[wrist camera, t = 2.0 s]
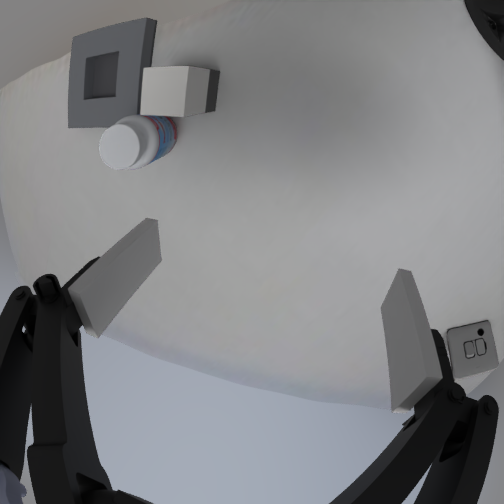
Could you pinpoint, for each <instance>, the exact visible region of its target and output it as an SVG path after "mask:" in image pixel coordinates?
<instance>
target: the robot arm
mask: <svg viewBox="0 0 504 504" xmlns="http://www.w3.org/2000/svg"><path fill="white" fill-rule="evenodd" d="M465 3H466V6H467V8H468V11H469V13H470V15H471V17H472V19H473V21H474V23H475V25H476V27H477V28H478V30H479V31H480V33H481V34H482V36H483V37H484V39H485V40H486V41H487V43H488V44H489V45H490V46H491V48H492V49H493V50H494V51H495V52H496V53H497V54H498V55H499V56H500V57H501V58H502V59H503V60H504V0H465ZM161 261H162V259H161V250H160V240H159V230H158V220H155V219H150V218H146V219H145V220H143V221H142V222H141V223H140V224H138V225H137V226H136V227H135V228H134V229H132V230H131V231H130V232H129V233H128V234H127V235H125V236H124V237H123V238H122V239H121V240H120V241H118V242H117V243H116V244H115V245H114V246H113V247H112V248H110V249H109V250H108V251H107V252H106V253H105V254H104V255H103V256H102V257H97V258H95V259H93V260H91V261H89V262H88V263H87V264H86V265H85V266H84V267H83V268H82V269H81V270H80V271H79V272H78V273H76V274H75V275H74V276H73V277H72V278H71V279H70V280H69V281H68V282H67V283H66V284H65V285H64V286H63V287H62V288H61V287H60V284H59V281H58V279H57V277H56V276H55V275H53V274H46V275H43V276H41V277H39V278H38V279H37V280H36V281H35V282H34V284H33V288H34V290H35V292H36V294H37V295H33V294H32V292H31V289H30V288H29V287H28V286H20V287H18V288H16V289H15V290H14V291H13V292H12V294H11V295H10V297H9V299H8V301H7V303H6V305H5V307H4V309H3V311H2V313H1V315H0V504H23V502H22V498H21V497H25V496H26V493H27V492H26V488H25V486H24V485H22V484H21V483H20V479H21V475H22V470H23V465H24V455H25V444H26V434H27V426H28V420H29V413H30V407H31V406H32V423H33V424H32V425H33V436H34V443H33V445H31V446H29V447H28V449H27V458H28V465H29V472H30V477H31V482H32V487H33V491H34V496H35V500H36V503H37V504H153V503H151V502H149V501H146V500H144V499H142V498H140V497H137V496H134V495H131V494H128V493H126V492H123V491H120V490H118V491H114V490H112V487H111V484H110V481H109V478H108V476H107V474H106V472H105V470H104V469H103V467H102V466H101V464H100V461H99V458H98V454H97V450H96V446H95V441H94V437H93V432H92V427H91V423H90V417H89V411H88V405H87V398H86V391H85V383H84V374H83V362H82V348H81V333H80V330H79V328H80V327H81V326H82V325H83V326H84V329H85V330H86V333H88V334H90V335H92V336H94V337H96V338H99V337H100V335H101V334H102V333H103V332H104V330H105V329H106V328H107V327H108V325H109V324H110V323H111V321H112V320H113V319H114V318H115V316H116V315H117V314H118V313H119V311H120V310H121V309H122V308H123V306H124V305H125V304H126V303H127V301H128V300H129V299H130V298H131V297H132V295H133V294H134V293H135V292H136V290H137V289H138V288H139V287H140V286H141V284H142V283H143V282H144V281H145V280H146V279H147V277H148V276H149V275H150V274H151V273H152V271H153V270H154V269H155V268H156V267H157V266H158V264H159V263H160V262H161ZM381 313H382V319H383V326H384V333H385V340H386V348H387V357H388V366H389V377H390V391H391V408H392V413H407V412H408V411H409V410H411V409H412V408H413V407H414V412H415V414H414V415H413V416H411V417H410V418H409V419H408V420H407V421H406V422H404V423H403V424H402V425H405V426H404V427H403V428H402V429H401V431H400V432H399V433H398V434H397V436H396V437H395V438H394V439H393V440H392V442H391V443H390V444H389V445H388V446H387V448H386V449H385V450H384V451H383V452H382V453H381V454H380V455H379V457H378V458H377V459H376V460H375V461H374V462H373V463H372V464H371V465H370V466H369V467H368V468H367V469H366V470H365V471H364V472H363V474H361V475H360V476H359V477H358V478H357V479H356V480H355V481H354V482H353V483H352V484H351V485H350V486H349V487H348V488H347V489H345V490H344V491H343V492H342V493H341V494H340V495H339V496H338V497H336V498H335V499H334V500H333V501H332V502H331V503H329V504H401V503H402V502H403V501H404V500H405V498H407V496H408V495H409V494H410V492H411V491H412V490H413V489H414V487H415V486H416V485H417V483H418V482H419V480H420V479H421V478H422V476H423V475H424V474H425V472H426V471H427V470H428V468H429V467H430V465H431V464H432V465H431V468H430V470H429V472H428V475H427V477H426V479H425V481H424V484H423V486H422V488H421V490H420V492H419V494H418V496H417V498H416V500H415V502H414V504H477V502H478V499H479V496H480V493H481V490H482V487H483V484H484V481H485V477H486V474H487V470H488V466H489V462H490V458H491V454H492V449H493V445H494V439H495V434H496V428H497V420H498V413H499V408H498V405H497V402H496V400H495V399H494V398H493V397H492V396H489V395H485V396H483V397H482V398H481V399H479V400H478V401H477V400H474V399H471V398H468V397H466V394H465V391H464V389H463V388H462V387H461V386H460V385H459V384H457V383H455V382H454V378H453V374H452V370H451V366H450V362H449V358H448V356H447V355H448V354H447V351H446V349H445V348H446V347H445V344H444V340H443V338H442V336H441V335H440V333H439V332H438V330H435V329H430V325H429V322H428V319H427V316H426V312H425V309H424V306H423V303H422V300H421V297H420V294H419V291H418V289H417V286H416V283H415V280H414V278H413V275H412V272H411V271H408V270H404V269H398V271H397V273H396V276H395V278H394V280H393V282H392V285H391V287H390V289H389V291H388V293H387V295H386V298H385V300H384V302H383V304H382V306H381ZM23 326H24V327H25V328H26V330H25V332H24V333H23V332H22V328H23ZM432 462H433V463H432Z"/></svg>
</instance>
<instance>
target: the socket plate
mask: <svg viewBox="0 0 504 504" xmlns="http://www.w3.org/2000/svg"><path fill="white" fill-rule="evenodd" d="M156 25H157V20H153V19H150V18H142V19H137V20H132V21H128V22H123V23H119V24H115V25H111V26H107V27H104V28H100V29H97V30H93V31H90V32H87V33H84V34H81V35H78V36H75V37H73V42H72V50H71V59H70V71H69V90H68V128H93V127H111V126H112V125H115V124H116V122H118V121H119V120H120V119H122V118H124V117H127V116H130V115H138V114H140V110H141V93H142V80H143V70H144V68H148V67H151V63H152V54H153V46H154V39H155V32H156Z"/></svg>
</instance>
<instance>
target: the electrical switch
mask: <svg viewBox="0 0 504 504" xmlns="http://www.w3.org/2000/svg"><path fill="white" fill-rule="evenodd" d="M447 338H448V342H447V343H448V349H449V355H450V362H451V369H452V374H453V378H454V380H461V379H465V378H469V377H473V376H476V375H480V374H483V373H487V372H490V371H493V370H496V369H497V367H498V365H499V361H498V356H497V351H496V346H495V341H494V337H493V333H492V329H491V325H490V323H489V322H488V321H484V322H480V323H476V324H472V325H468V326H463V327H459V328H454V329H450V330H449V331H448V333H447Z"/></svg>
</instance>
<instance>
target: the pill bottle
mask: <svg viewBox="0 0 504 504" xmlns="http://www.w3.org/2000/svg"><path fill="white" fill-rule="evenodd" d="M176 140H177V129H176V126H175V124H174V122H173V121H172V119H171V118H169V117H168V116H157V115H140V114H138V115H130V116H127V117H124V118H122V119H120V120H119V121H118V122H116V124H115V125H112V126H111V127H109V128H108V129H107V130H106V131H105V132H104V133H103V135H102V136H101V139H100V142H99V153H100V156H101V158H102V160H103V162H104V163H105V164H106V165H107V166H109V167H110V168H112V169H116V170H122V169H128V170H135V169H139V168H142V167H144V166H146V165H148V164H150V163H151V162H153V161H155V160H157V159H159V158H161V157H163V156H165V155H166V154H168V153H169V152H170V151H171V150H172V148H173V147H174V145H175V143H176Z"/></svg>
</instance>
